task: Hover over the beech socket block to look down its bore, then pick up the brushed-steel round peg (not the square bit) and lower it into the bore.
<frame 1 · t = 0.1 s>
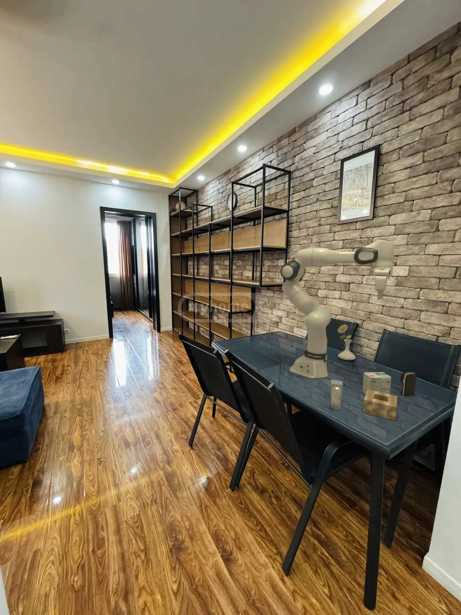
hand: (380, 298, 133), 48 cm above the table, fingers open, 8 cm apart
flower in vase: (345, 359, 183), on the table
light bulb box: (375, 394, 130), on the table
battery charger: (406, 394, 131), on the table
steel peg: (335, 407, 117), on the table
square bit: (335, 397, 127), on the table
socket block: (379, 410, 115), on the table
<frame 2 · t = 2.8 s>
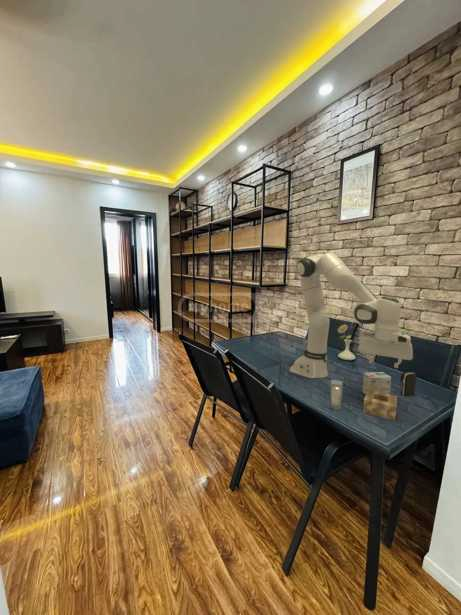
hand: (383, 365, 112), 21 cm above the table, fingers open, 8 cm apart
nothing on the table moved.
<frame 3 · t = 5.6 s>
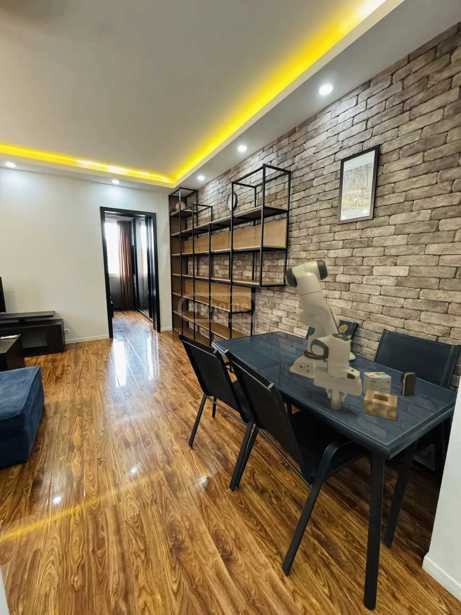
hand: (336, 399, 117), 4 cm above the table, fingers closed on steel peg, 4 cm apart
steel peg: (335, 407, 117), on the table, touching gripper
everything else where it was.
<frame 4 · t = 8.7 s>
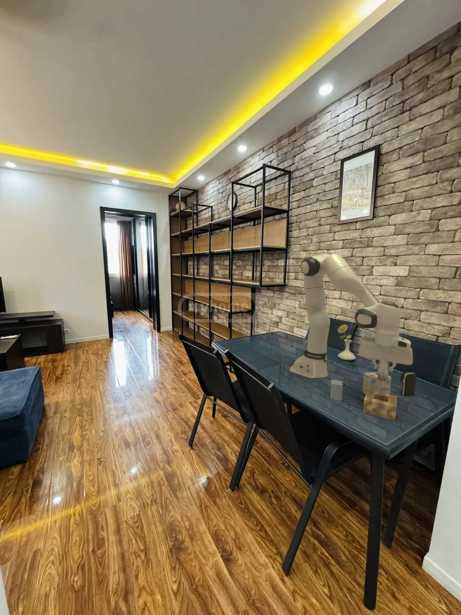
hand: (383, 370, 113), 19 cm above the table, fingers closed on steel peg, 4 cm apart
steel peg: (382, 379, 113), point 15 cm above the table, touching gripper
everything else where it was.
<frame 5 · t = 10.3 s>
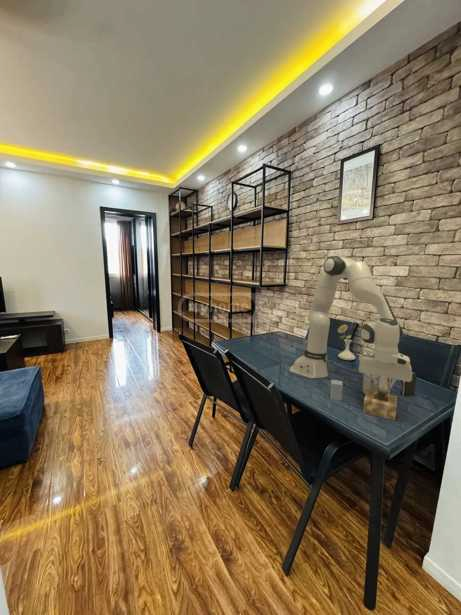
hand: (383, 386, 114), 11 cm above the table, fingers closed on steel peg, 4 cm apart
steel peg: (382, 395, 114), point 7 cm above the table, touching gripper
everything else where it was.
when the fingers open (7 cm above the table, at t = 11.7 s): steel peg drops 3 cm, resting in socket block.
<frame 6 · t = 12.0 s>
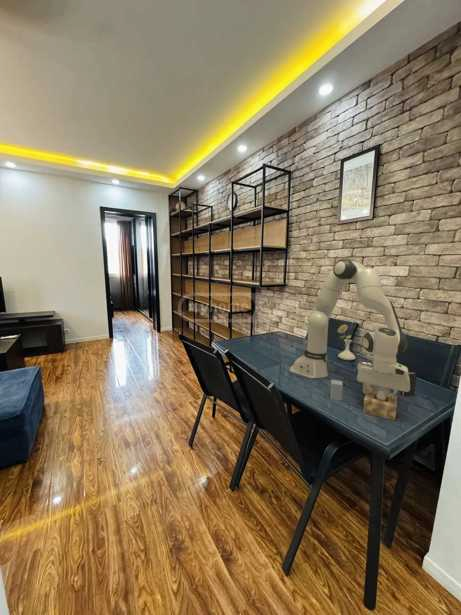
hand: (381, 395, 114), 7 cm above the table, fingers open, 7 cm apart
steel peg: (379, 410, 115), resting in socket block
everything else where it was.
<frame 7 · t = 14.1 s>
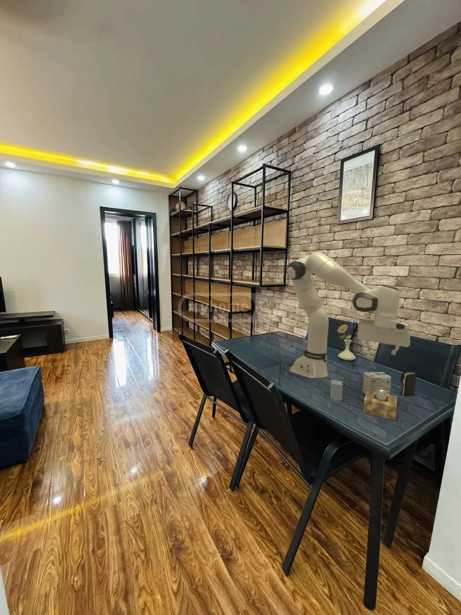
hand: (380, 352, 115), 26 cm above the table, fingers open, 8 cm apart
nothing on the table moved.
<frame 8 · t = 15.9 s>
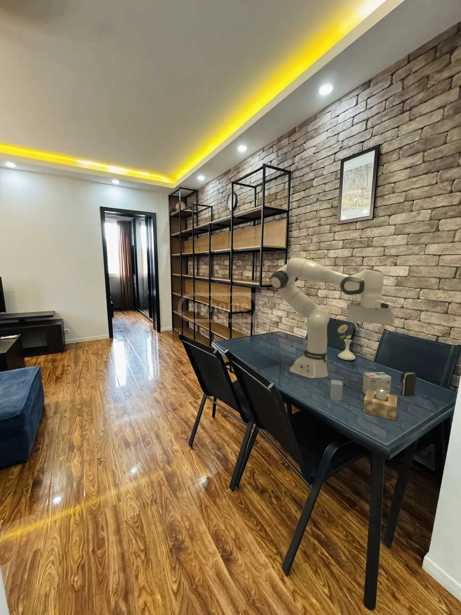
hand: (368, 331, 123), 33 cm above the table, fingers open, 8 cm apart
nothing on the table moved.
at the end: steel peg 0.1 cm off-centre on the socket block, point 0.0 cm above the socket block's base; steel peg tilted 0°; the gripper is holding nothing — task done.
